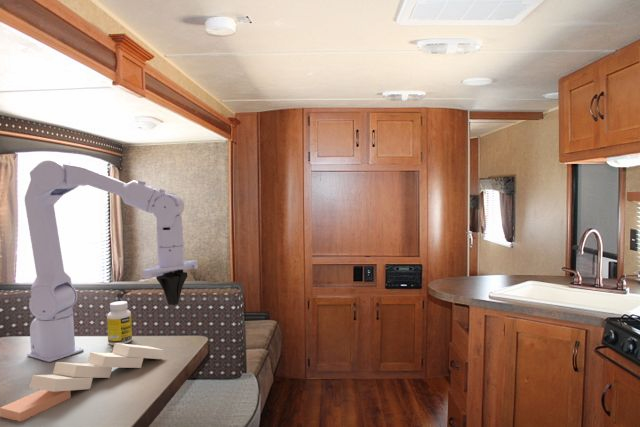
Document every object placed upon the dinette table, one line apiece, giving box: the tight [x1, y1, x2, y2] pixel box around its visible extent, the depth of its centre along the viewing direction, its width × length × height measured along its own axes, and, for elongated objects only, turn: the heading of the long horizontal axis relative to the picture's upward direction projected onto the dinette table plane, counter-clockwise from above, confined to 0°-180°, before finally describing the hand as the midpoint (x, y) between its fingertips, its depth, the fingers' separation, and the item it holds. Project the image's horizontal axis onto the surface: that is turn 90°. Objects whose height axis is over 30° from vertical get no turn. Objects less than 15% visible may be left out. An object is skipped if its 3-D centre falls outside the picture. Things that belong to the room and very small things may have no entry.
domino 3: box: [86, 351, 144, 369], centre depth 91 cm, size 2×5×9 cm
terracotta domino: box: [0, 389, 72, 422], centre depth 77 cm, size 2×5×9 cm
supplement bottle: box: [106, 300, 133, 346], centre depth 110 cm, size 5×5×10 cm
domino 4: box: [111, 343, 165, 360], centre depth 96 cm, size 2×5×9 cm
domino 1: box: [29, 374, 94, 392], centre depth 80 cm, size 2×5×9 cm
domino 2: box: [52, 361, 113, 379], centre depth 86 cm, size 2×5×9 cm
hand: (173, 304), depth 104 cm, fingers closed
